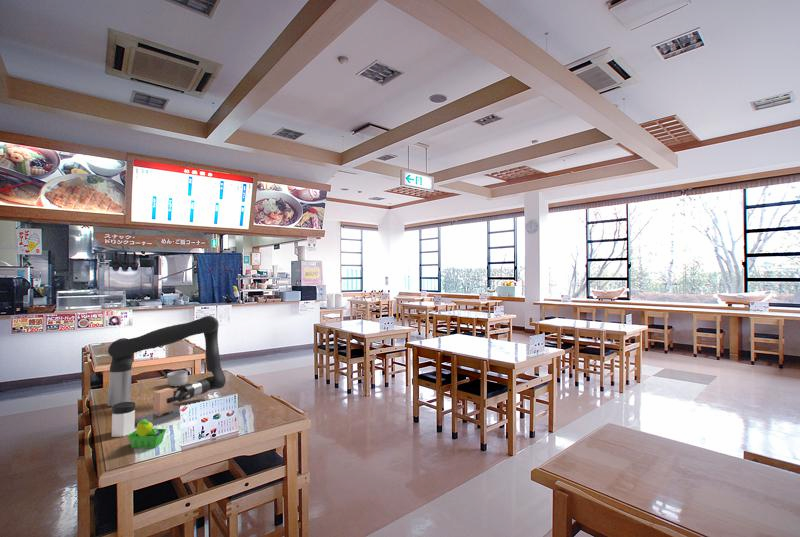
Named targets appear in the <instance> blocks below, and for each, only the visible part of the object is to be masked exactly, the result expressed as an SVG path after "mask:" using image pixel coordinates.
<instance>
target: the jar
mask: <svg viewBox="0 0 800 537" xmlns="http://www.w3.org/2000/svg"><path fill="white" fill-rule="evenodd" d="M135 416H136V402H134V401H131V402H122V403H117V404H115V405H113V406H111V437H115V438H117V437H118V438H119V437H121V438H122V436H123V437H126V436H128V435H129V434H131V433H133V432H134V431H135V425H136V417H135Z"/></svg>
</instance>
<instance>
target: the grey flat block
mask: <svg viewBox="0 0 800 537" xmlns="http://www.w3.org/2000/svg"><path fill="white" fill-rule="evenodd" d="M179 406H180V405H175V404H173V410H172V411H171V412H170V413H164V414H163V415H162V416H155V414H153V412H151V413H148V414H147V415H146V414H145V415H143V416H140V417H138V418H135V425H136V424H138V423H139V422H140V421H142V420H143V419H145V420H147V421H148V422H150V423H152V424H153V427H155V426H158V425H160V423H161V424H164V423H165V422H169V421H172V420H174V419H175V418H178V417H179V418H180V417H181V416H180V413H179ZM157 424H158V425H157ZM154 425H155V426H154Z"/></svg>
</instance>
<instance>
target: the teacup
mask: <svg viewBox="0 0 800 537" xmlns="http://www.w3.org/2000/svg"><path fill="white" fill-rule="evenodd" d="M166 375H167V376H166V377H167V380H166V381H167V384H168V385H169V386H170V387H172V386H181V385H184V384H187V382H188V378H189V377H188V371H187V370H184V369H181V370H176V371H175V370H174V371H171V372H168V373H167V374H166Z"/></svg>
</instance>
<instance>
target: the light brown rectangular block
mask: <svg viewBox="0 0 800 537" xmlns="http://www.w3.org/2000/svg"><path fill="white" fill-rule="evenodd" d="M174 390H175V389H174V388H172V387H166V388H162V389H160V390H156V391H153V397H154V401H153V408H152V411H153V412H152V413H153V414H155V416H162V415H163V414H164V413H170V412H171V411H172V410H173V406H174V402H171V403H167V399H168V398H171V397H173V391H174Z"/></svg>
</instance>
